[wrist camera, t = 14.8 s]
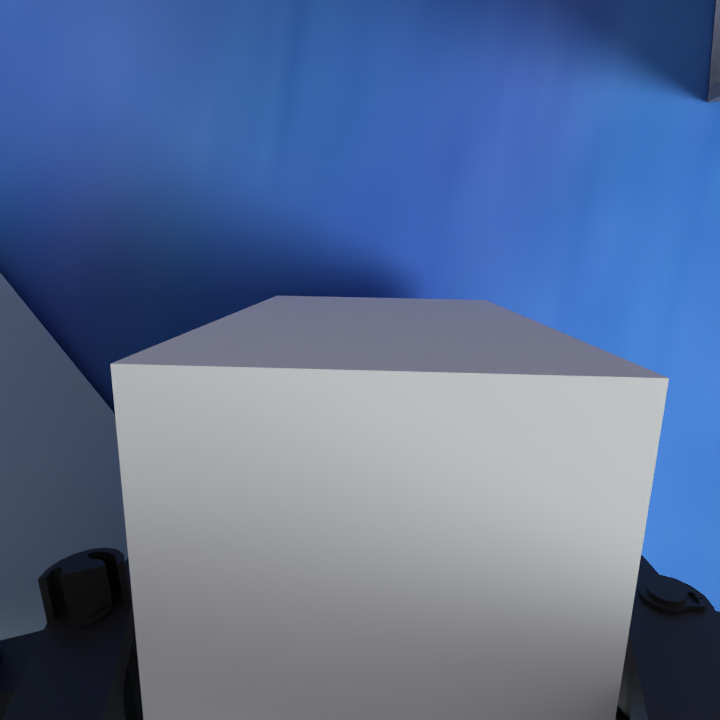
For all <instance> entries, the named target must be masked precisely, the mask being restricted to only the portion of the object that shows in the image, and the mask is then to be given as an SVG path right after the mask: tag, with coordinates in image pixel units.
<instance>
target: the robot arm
mask: <svg viewBox="0 0 720 720" xmlns="http://www.w3.org/2000/svg"><path fill="white" fill-rule="evenodd" d="M38 583H39V588H40V592H41V597H42V601H43V606H44V610H45V615H46V620H47V624H46V626H45V628H44V629H43V630H40V631H37V632H33V633H29V634H25V635H20V636H16V637H12V638H8V639H4V640H0V720H143V709H142V699H141V688H140V677H139V666H138V656H137V645H136V634H135V623H134V613H133V602H132V591H131V580H130V570H129V559H128V558H127V560H126V561H125V559H124V554H123V553H121V552H120V551H119V550H117V549H112V548H95V549H89V550H86V551H82V552H78V553H75V554H73V555H71V556H68V557H66V558H64V559H62V560H60V561H58V562H57V563H55V564H54V565H52V566H51V567H49V568H48V569H46V570H45V571H44V573H43V574H42V575H41V576H40V577H39V578H38ZM615 720H720V612H718V611H715V609H714V607H713V606H712V605H711V603H710V602H709V601H708V599H707V598H706V597H705V596H704V595H703V594H701V593H700V592H699V591H697V590H696V589H694V588H693V587H692V586H690V585H688V584H685V583H683V582H681V581H679V580H677V579H674V578H670V577H666V576H662V575H659V574H658V573H657V572H656V571H655V569H654V568H653V567H652V566H651V565H650V564H649V563H648V561H647V560H646V559H645V558H644V557H643V556H642V555H641V559H640V565H639V571H638V578H637V584H636V590H635V597H634V603H633V609H632V616H631V622H630V628H629V635H628V641H627V647H626V654H625V660H624V667H623V673H622V679H621V686H620V692H619V698H618V705H617V711H616V717H615Z"/></svg>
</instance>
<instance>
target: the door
mask: <svg viewBox="0 0 720 720" xmlns="http://www.w3.org/2000/svg"><path fill="white" fill-rule="evenodd" d="M95 548H112V549H117V550H119V551H120V552H121V553H123V554H124V559H125V561H126V560H127V558H128V548H127V537H126V527H125V516H124V505H123V494H122V484H121V473H120V462H119V452H118V441H117V430H116V419H115V414H114V412H113V411H112V410H111V409H110V408H109V406H108V405H107V404H106V403H105V401H104V400H103V399H102V398H101V396H100V395H99V394H98V393H97V391H96V390H95V389H94V388H93V387H92V385H91V384H90V383H89V382H88V380H87V379H86V378H85V377H84V375H83V374H82V373H81V372H80V371H79V369H78V368H77V367H76V366H75V364H74V363H73V362H72V361H71V359H70V358H69V357H68V356H67V354H66V353H65V352H64V351H63V350H62V348H61V347H60V346H59V345H58V343H57V342H56V341H55V340H54V338H53V337H52V336H51V335H50V334H49V332H48V331H47V330H46V329H45V327H44V326H43V325H42V324H41V322H40V321H39V320H38V319H37V317H36V316H35V315H34V314H33V313H32V311H31V310H30V309H29V308H28V306H27V305H26V304H25V303H24V301H23V300H22V299H21V298H20V297H19V295H18V294H17V293H16V292H15V290H14V289H13V288H12V287H11V285H10V284H9V283H8V282H7V281H6V279H5V278H4V277H3V276H2V274H1V273H0V640H4V639H8V638H12V637H16V636H20V635H25V634H29V633H33V632H37V631H40V630H43V629H44V628H45V626H46V624H47V620H46V615H45V610H44V606H43V601H42V597H41V592H40V588H39V583H38V578H39V577H40V576H41V575H42V574H43V573H44V571H45V570H46V569H48V568H49V567H51V566H52V565H54V564H55V563H57V562H58V561H60V560H62V559H64V558H66V557H68V556H71V555H73V554H75V553H78V552H82V551H86V550H89V549H95Z"/></svg>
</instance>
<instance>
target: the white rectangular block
mask: <svg viewBox="0 0 720 720" xmlns="http://www.w3.org/2000/svg"><path fill="white" fill-rule="evenodd" d="M110 366H111V376H112V387H113V398H114V409H115V419H116V430H117V441H118V452H119V462H120V473H121V484H122V494H123V505H124V516H125V527H126V537H127V548H128V559H129V570H130V580H131V591H132V602H133V613H134V623H135V634H136V645H137V656H138V666H139V677H140V688H141V699H142V709H143V720H615V717H616V711H617V705H618V698H619V692H620V686H621V679H622V673H623V667H624V660H625V654H626V647H627V641H628V635H629V628H630V622H631V616H632V609H633V603H634V597H635V590H636V584H637V578H638V571H639V565H640V559H641V552H642V546H643V540H644V533H645V527H646V521H647V514H648V508H649V502H650V495H651V489H652V483H653V476H654V470H655V464H656V457H657V451H658V445H659V438H660V432H661V426H662V419H663V413H664V406H665V400H666V394H667V387H668V381H669V378H667V377H665V376H663V375H660V374H658V373H655V372H653V371H651V370H648V369H646V368H644V367H641V366H639V365H637V364H634V363H632V362H630V361H627V360H625V359H623V358H620V357H618V356H616V355H613V354H611V353H609V352H606V351H604V350H602V349H599V348H597V347H594V346H592V345H590V344H587V343H585V342H583V341H580V340H578V339H576V338H573V337H571V336H569V335H566V334H564V333H562V332H559V331H557V330H555V329H552V328H550V327H548V326H545V325H543V324H540V323H538V322H536V321H533V320H531V319H529V318H526V317H524V316H522V315H519V314H517V313H515V312H512V311H510V310H508V309H505V308H503V307H501V306H498V305H496V304H494V303H491V302H489V301H487V300H460V299H413V298H366V297H319V296H275V297H272V298H270V299H267V300H265V301H262V302H260V303H258V304H255V305H253V306H250V307H248V308H245V309H243V310H240V311H238V312H236V313H233V314H231V315H228V316H226V317H223V318H221V319H218V320H216V321H214V322H211V323H209V324H206V325H204V326H201V327H199V328H196V329H194V330H192V331H189V332H187V333H184V334H182V335H179V336H177V337H174V338H172V339H170V340H167V341H165V342H162V343H160V344H157V345H155V346H152V347H150V348H148V349H145V350H143V351H140V352H138V353H135V354H133V355H130V356H128V357H126V358H123V359H121V360H118V361H116V362H113V363H111V364H110Z"/></svg>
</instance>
